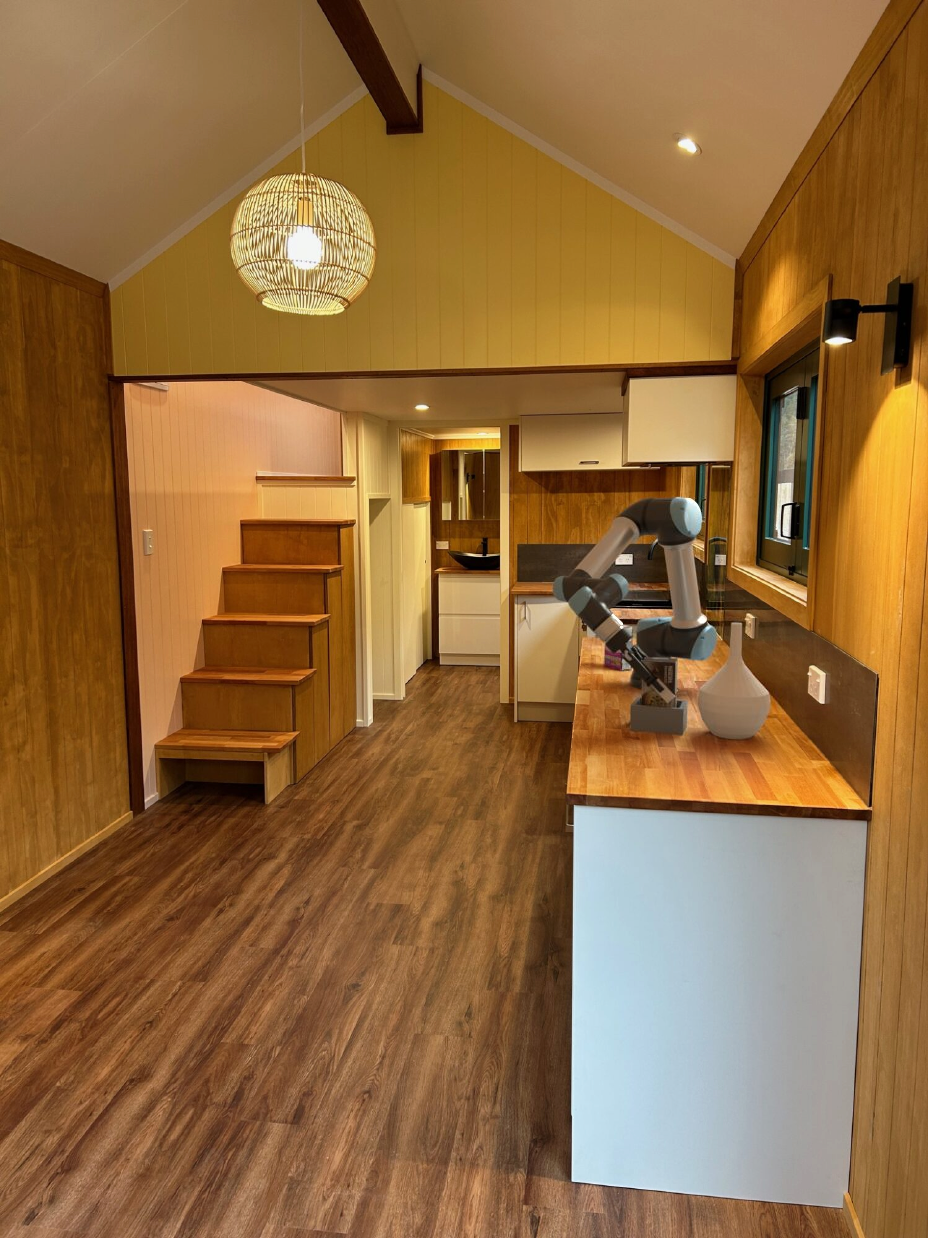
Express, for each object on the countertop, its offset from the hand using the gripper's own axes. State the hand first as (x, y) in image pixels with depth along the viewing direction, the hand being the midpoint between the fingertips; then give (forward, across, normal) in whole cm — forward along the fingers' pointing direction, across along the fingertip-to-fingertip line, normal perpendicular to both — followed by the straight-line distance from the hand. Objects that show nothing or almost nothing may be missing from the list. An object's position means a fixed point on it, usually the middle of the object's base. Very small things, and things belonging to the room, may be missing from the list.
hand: (672, 696), depth 232 cm
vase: (+18, +1, +5) cm, 18 cm away
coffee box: (+2, 0, -7) cm, 7 cm away
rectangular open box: (+4, 0, -9) cm, 10 cm away
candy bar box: (-14, -83, -27) cm, 88 cm away
